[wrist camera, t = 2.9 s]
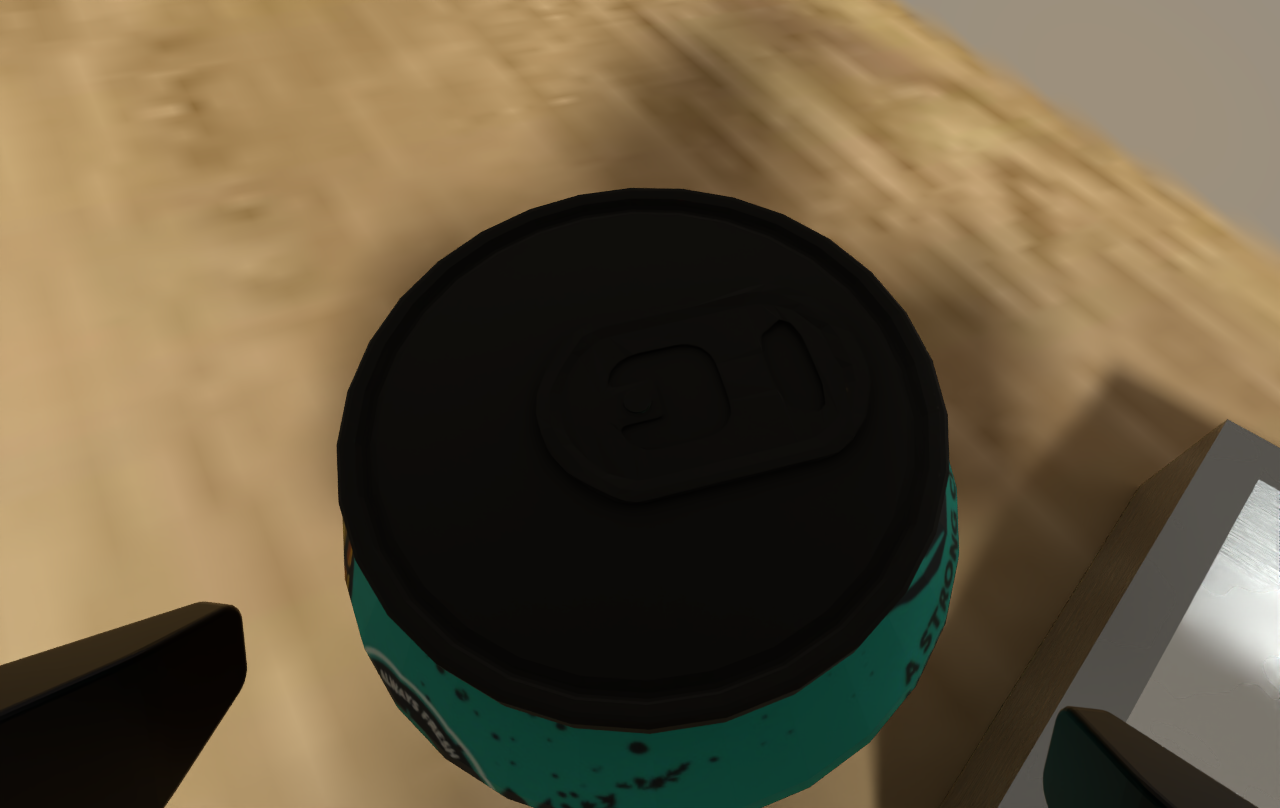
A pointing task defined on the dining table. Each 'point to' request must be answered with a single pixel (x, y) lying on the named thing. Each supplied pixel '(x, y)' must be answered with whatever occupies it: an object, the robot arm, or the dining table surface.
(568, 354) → the beverage can
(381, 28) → the dining table surface
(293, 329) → the dining table surface
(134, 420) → the dining table surface
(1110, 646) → the open rectangular box
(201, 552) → the dining table surface
